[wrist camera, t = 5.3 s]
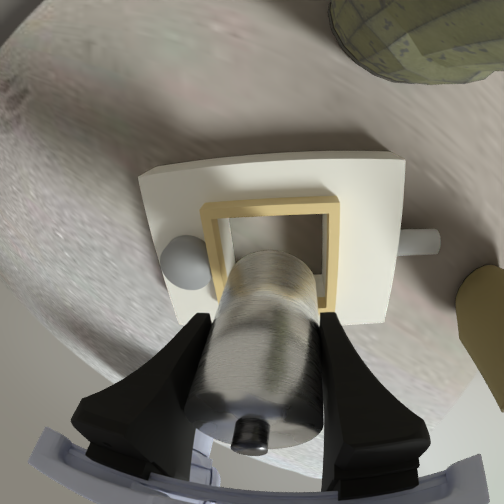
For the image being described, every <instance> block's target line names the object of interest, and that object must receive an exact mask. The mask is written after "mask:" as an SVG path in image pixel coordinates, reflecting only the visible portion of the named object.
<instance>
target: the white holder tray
mask: <svg viewBox="0 0 504 504" xmlns="http://www.w3.org/2000/svg"><path fill="white" fill-rule="evenodd" d="M138 181H139V185H140V190H141V194H142V198H143V203H144V207H145V211H146V215H147V219H148V223H149V227H150V231H151V234H152V238H153V242H154V246H155V249H156V253H157V256H158V260H159V263H160V267H161V270H162V273H163V277H164V280H165V283H166V286H167V290H168V293H169V296H170V299H171V302H172V305H173V308H174V311H175V314H176V317H177V320H178V323H179V325H186V324H187V323H188V321H189V320H190V319H191V318H192V317H193V316H194V315H195V314H196V313H210V317H211V321H212V323H213V320H214V317H215V314H216V311H217V308H218V305H219V302H220V299H221V296H222V293H223V290H224V287H225V284H226V282H227V279H228V276H229V273H230V271H231V269H232V267H233V266H234V265H235V264H236V261H235V255H234V248H233V242H232V235H231V229H230V222H229V218H236V217H255V216H275V215H299V214H322V274H319V275H313V276H314V278H315V282H316V291H317V302H318V315H319V325H320V312H335V313H336V314H337V317H338V319H339V321H340V323H341V325H355V324H371V323H384V321H385V316H386V312H387V307H388V302H389V298H390V293H391V287H392V282H393V276H394V271H395V265H396V258H397V256H406V255H429V254H437V253H438V252H439V250H440V246H441V239H440V234H439V232H438V230H437V229H400V228H401V219H402V209H403V197H404V182H405V159H403V158H401V157H399V156H397V155H396V154H394V153H392V152H388V151H306V152H284V153H268V154H255V155H243V156H232V157H223V158H214V159H205V160H197V161H190V162H183V163H176V164H169V165H163V166H157V167H154V168H153V169H151V170H149V171H147V172H145V173H144V174H142V175H140V176H138Z"/></svg>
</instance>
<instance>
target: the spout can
mask: <svg viewBox="0 0 504 504" xmlns="http://www.w3.org/2000/svg"><path fill="white" fill-rule="evenodd" d="M184 412H185V415H186V417H187V419H188V420H189V422H190V423H191V424H192V425H193V426H194V427H195V428H197V429H198V430H199V431H201V432H203V433H204V434H206V435H208V436H210V437H212V438H214V439H216V440H219V441H222V442H225V443H228V444H231V449H232V450H233V451H234V452H237V453H239V454H243V455H249V456H260V455H264V454H266V453H267V451H268V449H279V448H287V447H292V446H296V445H300V444H303V443H305V442H307V441H309V440H311V439H313V438H314V437H316V436H317V435H318V434H319V433H320V432H321V430H322V429H323V425H324V420H323V383H322V361H321V345H320V329H319V315H318V302H317V291H316V282H315V278H314V276H313V273H312V272H311V270H310V269H309V267H308V266H307V265H306V264H305V263H304V262H303V261H302V260H300V259H299V258H297V257H295V256H293V255H291V254H289V253H286V252H282V251H276V250H263V251H257V252H254V253H251V254H248V255H246V256H245V257H243V258H242V259H240V260H239V261H238V262H237V263H236V264H235V265H234V266H233V267H232V269H231V271H230V273H229V276H228V279H227V282H226V284H225V287H224V290H223V293H222V296H221V299H220V302H219V305H218V308H217V311H216V314H215V317H214V320H213V323H212V326H211V329H210V332H209V335H208V338H207V341H206V344H205V347H204V350H203V353H202V356H201V359H200V362H199V365H198V368H197V371H196V374H195V377H194V380H193V383H192V386H191V389H190V392H189V395H188V398H187V401H186V404H185V408H184Z"/></svg>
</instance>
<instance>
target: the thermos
mask: <svg viewBox="0 0 504 504" xmlns="http://www.w3.org/2000/svg"><path fill="white" fill-rule="evenodd" d="M328 15H329V20H330V25H331V30H332V32H333V34H334V35H335V37H336V39H337V41H338V42H339V44H340V46H341V48H342V49H343V50H344V51H345V52H346V53H347V54H348V55H349V56H350V57H351V58H352V59H353V61H354V62H355V63H356V64H358V65H359V66H361V67H362V68H364V69H365V70H367V71H368V72H370V73H371V74H373V75H374V76H377V77H380V78H383V79H386V80H388V81H391V82H395V83H409V84H414V83H417V84H427V85H436V84H466V83H470V82H475V81H479V80H484V79H485V78H487V77H488V76H489V75H490V74H492V73H493V72H494V71H504V0H330V3H329V9H328Z"/></svg>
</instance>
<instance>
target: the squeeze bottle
mask: <svg viewBox="0 0 504 504" xmlns="http://www.w3.org/2000/svg"><path fill="white" fill-rule="evenodd" d="M456 314H457V322H458V331H459V339H460V340H461V342H462V344H463V345H464V347H465V348H466V350H467V352H468V353H469V355H470V356H471V358H472V360H473V361H474V363H475V365H476V366H477V368H478V370H479V371H480V373H481V375H482V376H483V378H484V380H485V381H486V383H487V385H488V387H489V389H490V391H491V392H492V394H493V396H494V398H495V400H496V402H497V404H498V406H499V407H500V409H501V412H504V269H502V268H499V267H497V266H494V265H485V266H483V267H480V268H478V269H476V270H475V271H474V272H473V273H471V274H470V275H469V276H468V277H467V278H466V279H465V281H464V282H463V284H462V285H461V286H460V288H459V290H458V293H457V296H456Z"/></svg>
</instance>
